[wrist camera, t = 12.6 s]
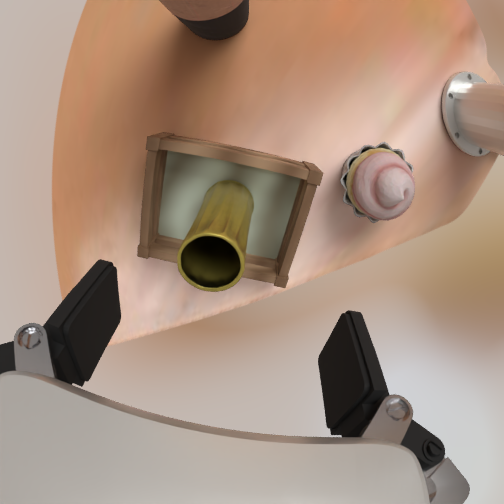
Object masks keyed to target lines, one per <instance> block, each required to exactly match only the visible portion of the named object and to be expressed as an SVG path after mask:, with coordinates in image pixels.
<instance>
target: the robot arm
mask: <svg viewBox="0 0 504 504" xmlns="http://www.w3.org/2000/svg"><path fill="white" fill-rule="evenodd" d="M442 113H443V119H444V123H445V126H446V129H447V131H448V134H449V136H450V138H451V139H452V141H453V142H454V144H455V145H456V146H457V147H458V148H459V149H460V150H462V151H463V152H465V153H467V154H469V155H472V156H483V155H486V154H487V153H489V152H490V151H492V152H495V153H497V154H500V155H503V156H504V84H502V83H487V82H486V81H485V80H484V79H483V78H482V77H480V76H479V75H477V74H475V73H472V72H459V73H456V74H454V75H453V76H452V77H451V78H450V79H449V80H448V81H447V83H446V85H445V88H444V91H443V96H442ZM120 320H121V310H120V302H119V292H118V281H117V269H116V267H114V266H113V263H112V262H109V261H105V260H101V259H100V260H98V261H97V262H96V263H95V264H94V266H93V267H92V268H91V269H90V270H89V271H88V272H87V273H86V275H85V276H84V277H83V278H82V279H81V280H80V282H79V283H78V284H77V285H76V286H75V287H74V288H73V289H72V290H71V291H70V293H69V294H68V295H67V296H66V298H65V299H64V300H63V301H62V303H61V304H60V305H59V306H58V307H57V309H56V310H55V311H54V313H53V314H52V315H51V316H50V318H49V319H48V320H47V322H46V323H45V324H44V326H41V325H39V324H36V323H29V324H26V325H23V326H22V327H20V328H19V329H18V330H17V332H16V334H15V336H14V341H12V342H8V343H5V344H1V345H0V504H463V503H464V501H465V500H466V499H467V497H468V495H469V491H470V487H469V484H468V482H467V480H466V479H465V478H464V476H463V475H462V474H461V473H460V471H459V470H458V469H457V468H456V466H455V465H454V464H453V463H452V461H451V460H450V459H449V458H446V459H445V458H444V455H445V448H444V445H443V443H442V442H441V440H440V439H439V438H437V437H436V436H435V435H433V434H432V433H430V432H429V431H427V430H426V429H425V428H423V427H422V426H421V425H419V424H418V423H416V422H415V421H414V420H412V417H413V409H412V407H411V405H410V403H409V402H408V401H407V400H406V399H405V398H404V397H402V396H400V395H389V392H388V389H387V385H386V382H385V379H384V376H383V373H382V370H381V367H380V364H379V361H378V358H377V355H376V352H375V349H374V346H373V344H372V341H371V338H370V335H369V332H368V330H367V327H366V324H365V322H364V319H363V316H362V314H361V313H360V312H355V311H347V312H346V313H343V314H341V316H340V318H339V320H338V322H337V324H336V326H335V328H334V329H333V331H332V333H331V335H330V337H329V339H328V341H327V342H326V344H325V346H324V348H323V350H322V351H321V353H320V355H319V358H318V365H319V372H320V379H321V385H322V393H323V400H324V408H325V416H326V424H327V427H328V428H330V431H331V435H342V437H301V436H282V435H270V434H260V433H251V432H243V431H236V430H229V429H223V428H217V427H211V426H205V425H201V424H195V423H191V422H186V421H182V420H178V419H173V418H169V417H165V416H161V415H158V414H154V413H151V412H147V411H143V410H140V409H137V408H134V407H130V406H127V405H124V404H121V403H118V402H115V401H112V400H110V399H107V398H104V397H101V396H99V395H96V394H93V393H91V392H88V391H85V390H83V389H80V388H78V387H75V386H73V385H72V383H75V384H77V385H79V386H83V384H84V382H85V381H89V379H90V378H91V376H92V374H93V372H94V369H95V368H96V366H97V364H98V362H99V360H100V358H101V356H102V354H103V352H104V350H105V348H106V347H107V345H108V343H109V341H110V339H111V337H112V336H113V334H114V332H115V330H116V328H117V327H118V325H119V323H120Z"/></svg>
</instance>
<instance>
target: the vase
mask: <svg viewBox="0 0 504 504" xmlns="http://www.w3.org/2000/svg"><path fill="white" fill-rule="evenodd" d="M253 210H254V200H253V196H252V194H251V192H250V191H249V190H248V188H247V187H245V186H244V185H243V184H241V183H239V182H236V181H233V180H224V181H219V182H217V183H215V184H214V185H212V186H211V187H210V188H209V189H208V190H207V192H206V194H205V196H204V199H203V204H202V206H201V208H200V210H199V212H198V214H197V217H196V219H195V220H194V222H193V224H192V226H191V228H190V230H189V231H188V233H187V235H186V237H185V239H184V240H183V242H182V244H181V246H180V248H179V250H178V254H177V264H178V269H179V272H180V274H181V275H182V277H183V278H184V279H185V280H186V281H187V282H188V283H189V284H191V285H192V286H194V287H196V288H198V289H200V290H204V291H211V292H218V291H223V290H226V289H228V288H230V287H232V286H234V285H235V284H236V283H237V282H238V281H239V280H240V278H241V277H242V275H243V273H244V270H245V258H246V249H247V240H248V234H249V227H250V222H251V216H252V213H253Z"/></svg>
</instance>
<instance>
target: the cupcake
mask: <svg viewBox="0 0 504 504" xmlns="http://www.w3.org/2000/svg"><path fill="white" fill-rule="evenodd" d="M412 172H413V166H412V165H411V164H409V163H408V162H406V161H405V156H404V153H403V151H402V150H400V149H394V150H392V148H391V147H390V146H389V145H388V144H387V143H386V142H382V143H380V144H379V145H377V146H376V147H374V146H371V145H364V146H363V147H362V148H361V150H358V151H356V152H354V153H353V154H351V155H350V156H349V158H348V159H347V160H346V162H345V164H344V166H343V171H342V178H341V183H342V185H343V187H344V188H345V191H344V197H343V202H344V203H346V204H348V205H350V206H353V210H354V214H355V215H356V216H358V217H365V216H367V217H368V219H369V220H370V221H371V222H372V223H376V222H377V221H379V220H391V219H394V218H397V217H399V216H400V215H402V214H403V213H404V212H405V211H406V210H407V209H408V208H409V206H410V205H411V203H412V200H413V198H414V192H415V182H414V177H413V174H412Z"/></svg>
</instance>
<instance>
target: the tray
mask: <svg viewBox="0 0 504 504" xmlns="http://www.w3.org/2000/svg"><path fill="white" fill-rule="evenodd" d="M146 150H148V154H147V161H146V170H145V179H144V189H143V200H142V213H141V230H140V244H139V245H138V254H137V256H138V257H142V258H146V259H148V258H149V257H152V258H156V259H161V260H165V261H170V262H174V263H177V254H178V250H179V248H180V246H181V244H182V242H183V240H184V239H185V237H186V235H187V233H188V231H189V230H190V228H191V226H192V224H193V222H194V220H195V219H196V217H197V214H198V212H199V210H200V208H201V206H202V204H203V199H204V196H205V194H206V192H207V190H208V189H209V188H210V187H211V186H212V185H214V184H215V183H217V182H219V181H224V180H233V181H236V182H239V183H241V184H243V185H244V186H245V187H247V188H248V190H249V191H250V192H251V194H252V196H253V200H254V210H253V213H252V216H251V222H250V227H249V234H248V240H247V249H246V258H245V270H244V273H243V275H242V277H244V278H249V279H254V280H259V281H264V282H269V283H274V286H277V287H282V288H285V287H286V284H287V282H288V279H289V278H288V273H289V270H290V267H291V264H292V261H293V258H294V255H295V252H296V249H297V246H298V243H299V240H300V237H301V234H302V231H303V228H304V225H305V222H306V219H307V216H308V213H309V210H310V207H311V204H312V200H313V197H314V194H315V191H316V188H317V185H318V186H320V183H321V180H322V176H323V172H322V171H321V170H320V169H319V168H318V167H317V166H315V165H314V164H312V163H309V162H305V161H303V162H299V161H295V160H291V159H287V158H283V157H280V156H276V155H271V154H267V153H263V152H259V151H254V150H250V149H245V148H241V147H236V146H231V145H226V144H221V143H216V142H210V141H205V140H199V139H193V138H187V137H180V136H174V134H171V133H164V132H163V133H159V134H155V135H151V136H148V137H147V143H146Z"/></svg>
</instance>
